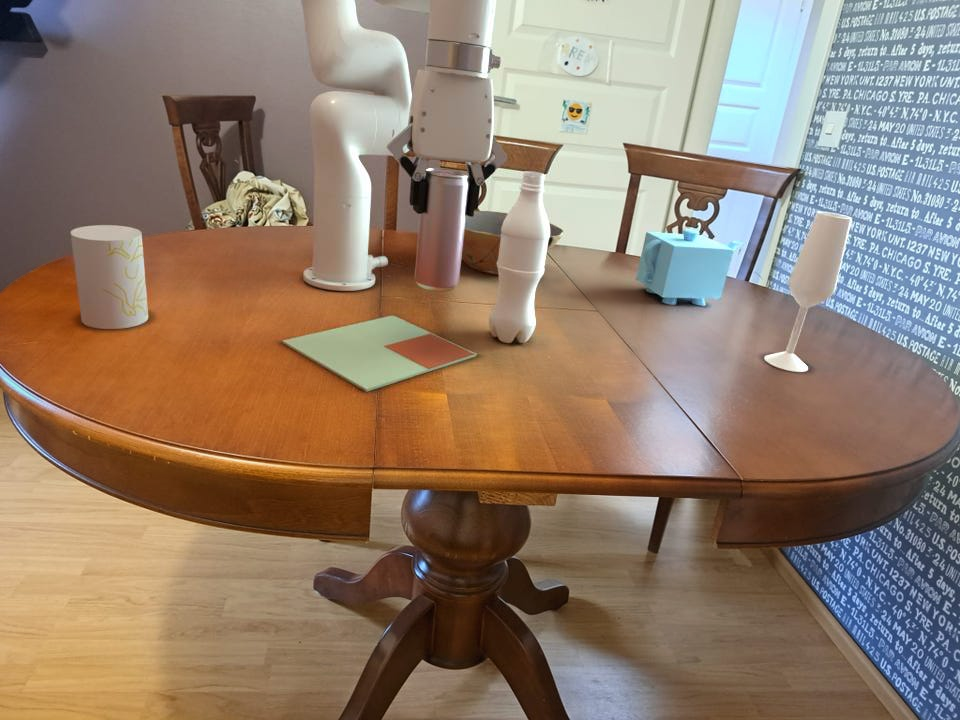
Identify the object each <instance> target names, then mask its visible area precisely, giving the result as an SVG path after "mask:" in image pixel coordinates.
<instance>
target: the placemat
mask: <svg viewBox="0 0 960 720" xmlns="http://www.w3.org/2000/svg"><path fill="white" fill-rule="evenodd" d="M281 341H282V344H283V345H284V346H287V347H288V348H289V349H292V350H293V351H295V352H297V353H298V354H300V355H302V356H304V357H305V358H306V359H309V360H311V361H312V362H314V363H315V364H317V365H319V366H321V367H322V368H324V369H326V370H327V371H329V372H331V373H332V374H335V375H336V376H338V377H340V378H341V379H343V380H344V381H346V382H348V383H350V384H351V385H353V386H355V387H357V388H358V389H360V390H362V391H364V392H365V393H368V392H370V391H374V390H377V389H379V388H383V387H386V386H389V385H392V384H396V383H398V382H401V381H405V380H408V379H411V378H414V377H417V376H421V375H422V374H426V373H430V372H432V371H435V370H438V369H441V368H445V367H448V366H451V365H454V364H457V363H460V362H463V361H466V360H469V359H473V358H475V357H477V355H478V354H477V353H476V352H473V351H472V350H470V349H468V348H465V347H463V346H461V345H458V344H456V343H455V342H452V341H450V340H448V339H445V338H443V337H441V336H439V335H437V334H435V333H432V332H430V331H428V330H426V329H424V328H421V327H420V326H418V325H415V324H413V323H411V322H409V321H406V320H404V319H402V318H400V317H398V316H396V315H393V314H392V315H388V316H383V317H379V318H375V319H370V320H366V321H362V322H358V323H353V324H349V325H343V326H340V327H336V328H335V327H334V328H331V329H327V330H322V331H318V332H313V333H309V334H304V335H300V336H296V337H292V338H287V339H283V340H281Z"/></svg>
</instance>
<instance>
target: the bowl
mask: <svg viewBox="0 0 960 720" xmlns="http://www.w3.org/2000/svg"><path fill="white" fill-rule="evenodd" d="M508 213H509V212H500V211H490V210H474V216H473V217H469V216H468V215H466V221H465V230H464V239H463V249H462V258H461V260H463V261H464V263H465V264H466V265H467V266H469V267H470V268H471V269H474V270H476V271H480V272H482V273H486V274H492V275H496V276H497V275H498V276H499V274H498V267H497V261H498V255H499V248H500V241H501V233H502V231H501V228H502V224H503V222H504V220H505V218H506V216H507V215H508ZM549 226H550V238H549V240H548V246H547V252H549V250H551V248H553V247H554V246H555V245H556V244H557V243H558V242H559V240H560V239H562V236H563V234H564V230H563V229H562V228H561V227H558V226H557V225H555V224H553V223H550V222H549Z"/></svg>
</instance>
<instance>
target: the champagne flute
mask: <svg viewBox="0 0 960 720" xmlns="http://www.w3.org/2000/svg"><path fill="white" fill-rule="evenodd" d="M852 220H853V218H852V217H851V216H850V215H849V216H848V215H845V214H840V213H835V212H829V211H816V214H815V216H814V219H813V221H812V224H811V226H810V228H809V230H808V233H807V235H806V238H805V240H804V242H803V244H802V247H801V250H800V251H799V254H798V257H797V258H796V261H795V263H794V266H793V268H792V270H791V273H790V275H789V277H788V280H787V286H788V289H789V292H790V294H791V296H792V297H793V299H794V300H795V302H796V303H797V304H798V305H799V309H798V312H797V315H796V318H795V320H794V324H793V327H792V331H791V334H790V336H789V340H788V343H787V346H786V349H785V351H780V352H776V353H772V354H768V355H767V354H766V355H765V356H764V357H763V358H764V361H765V362H767V363H768V364H769V365H771V366H773V367H776V368H778V369H781V370H784V371H789V372H795V373H804V372H807V371H808V370H809V367H808V366H807V365H806V363H804V361H802V360H801V358H799V357H798V356H797V354H795V353H794V352H795V350H796V346H797V343H798V341H799V337H800V335H801V331H802V329H803V325H804V322H805V320H806V316H807V313H808V310H809V308H813V307H816V306H818V305H819V304H821V303H823V302H825V301H827V300H828V299H829V298H831V297H832V296H833V295H834V294H835V292H836V289H837V284H838V281H839V276H840V271H841V268H842V263H843V259H844V254H845V250H846V247H847V241H848V237H849V233H850V230H851V229H850V228H851V225H852Z"/></svg>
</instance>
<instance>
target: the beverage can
mask: <svg viewBox="0 0 960 720" xmlns="http://www.w3.org/2000/svg"><path fill="white" fill-rule="evenodd" d="M423 176H424V180H423V181H424V182H425V183H426V191H425V203H424V213H422V214H419V220H418V229H417V231H418V232H417V244H416V254H415V255H416V257H415V267H414V268H415V269H414V281H415V283H416V285H417V286H418V287H420V288H422V289H424V290H427V291H432V292H433V291H434V292H449V291H453V290H455V289H456V288H457V287H458V285H459V282H460V275H461V265H462V249H463V239H464V230H465V221H466V212H467V203H468V194H469V185H470V183H469V179H468V178H469V174H468V172H465V171H462V170H457V169H452V168H451V169H450V168H442V167H441V168H440V167H427V169H426V171H425V173H424V175H423Z"/></svg>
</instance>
